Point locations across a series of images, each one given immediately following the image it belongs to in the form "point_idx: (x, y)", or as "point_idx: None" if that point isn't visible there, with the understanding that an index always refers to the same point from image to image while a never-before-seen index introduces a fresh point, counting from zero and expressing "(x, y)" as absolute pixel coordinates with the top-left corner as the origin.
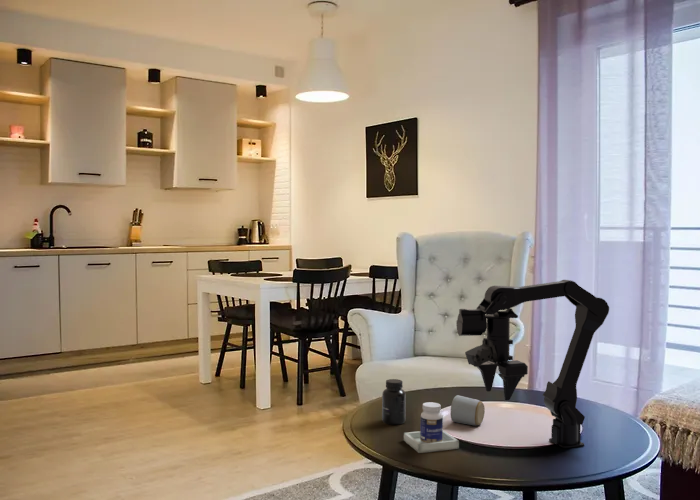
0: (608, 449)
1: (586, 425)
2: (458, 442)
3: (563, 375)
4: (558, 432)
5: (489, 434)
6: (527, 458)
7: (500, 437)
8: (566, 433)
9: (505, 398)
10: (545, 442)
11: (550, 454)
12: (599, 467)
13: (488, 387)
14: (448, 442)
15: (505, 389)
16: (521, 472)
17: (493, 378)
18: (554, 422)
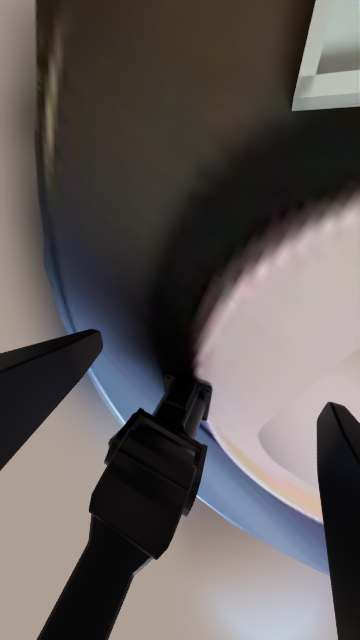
0: (147, 410)
1: (248, 482)
2: (293, 98)
3: (89, 580)
4: (167, 394)
5: (341, 322)
6: (144, 279)
7: (294, 328)
8: (161, 400)
9: (84, 331)
10: (208, 376)
11: (151, 333)
12: None
13: (329, 436)
14: (313, 14)
15: (7, 352)
16: (80, 209)
17: (333, 568)
18: (178, 416)
